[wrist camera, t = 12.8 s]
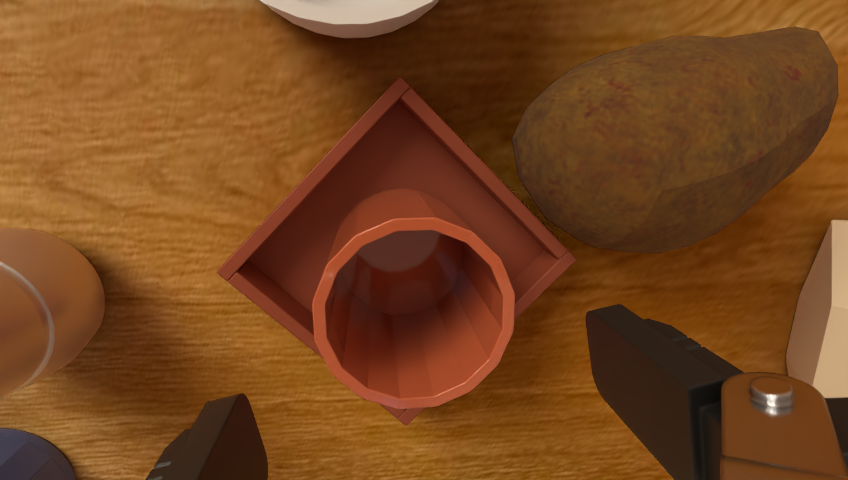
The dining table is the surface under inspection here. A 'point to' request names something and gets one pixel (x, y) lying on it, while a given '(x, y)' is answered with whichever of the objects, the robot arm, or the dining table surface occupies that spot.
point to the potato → (674, 135)
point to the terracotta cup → (411, 302)
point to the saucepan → (351, 15)
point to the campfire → (823, 319)
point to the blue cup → (31, 458)
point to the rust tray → (376, 171)
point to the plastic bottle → (43, 306)
